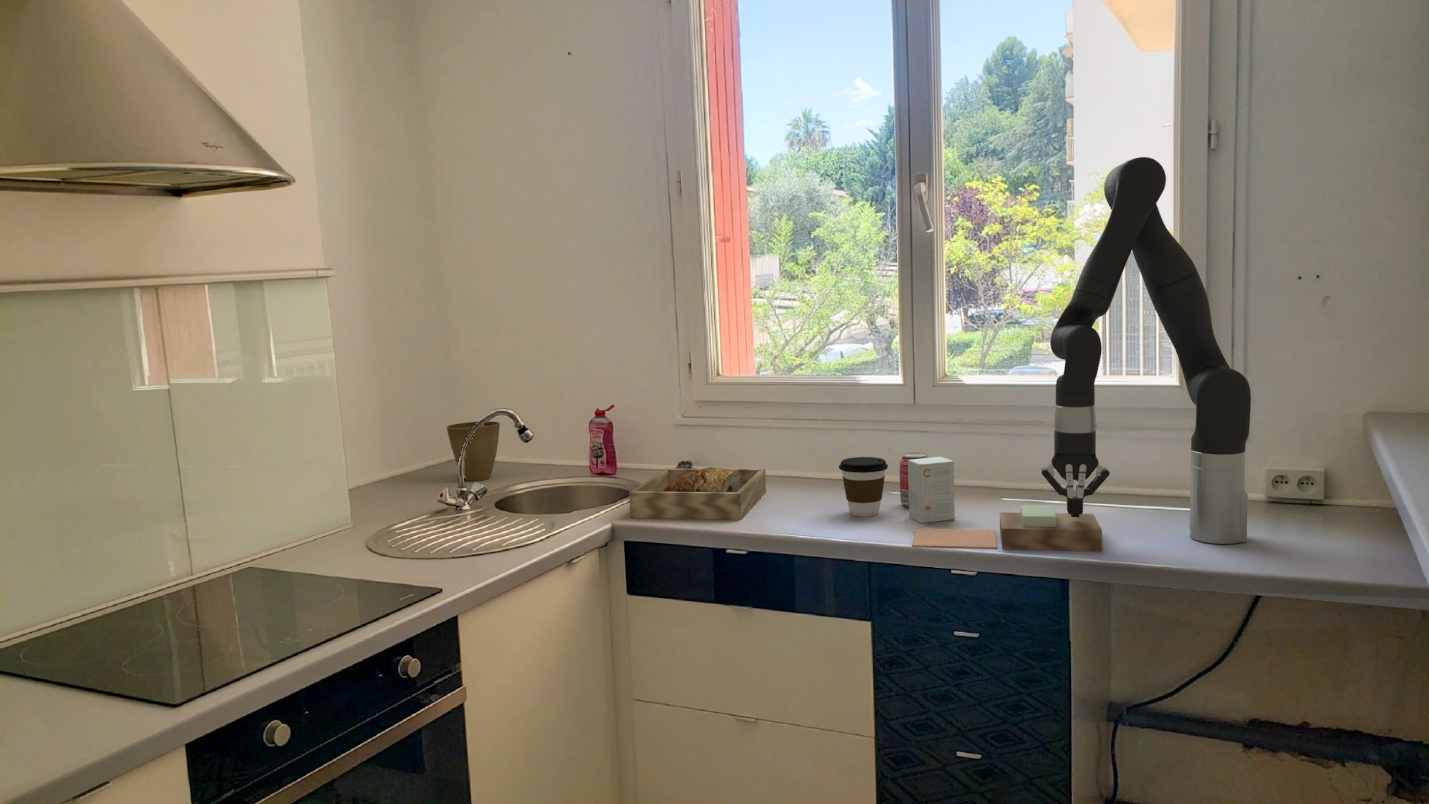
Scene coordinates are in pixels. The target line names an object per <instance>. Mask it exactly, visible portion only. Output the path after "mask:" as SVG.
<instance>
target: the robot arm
mask: <svg viewBox="0 0 1429 804" xmlns="http://www.w3.org/2000/svg"><path fill="white" fill-rule="evenodd" d="M1166 184H1167V175H1166V171H1165V169H1164V167H1163V166H1162V164H1161V163H1160V162H1159V161H1157V160H1156V159H1154V158H1152V157H1149V156H1148V157H1147V156H1140V157H1135V158H1130V159H1128V160H1126V161H1125V162H1123V163H1122V164H1119V165H1117V166H1116V167H1114V168H1113V169H1111V171H1109V173H1108V174H1107V176H1106V177H1105V179H1104V184H1103V193H1104V197H1105V200H1106V203H1107V204H1108V206H1109V209H1110V210H1111V211H1110V214H1109V217H1108V220H1107V222H1106V225H1105V226H1104V230H1103V231H1102V233H1101V235H1100V237H1099V239H1098V240H1097V243H1096V244H1095V246H1094V247H1093V249H1092V251H1091V252H1090V254H1089V255H1088V257H1087V259H1086V262H1085V263H1084V266H1083V267H1082V270H1081V272H1080V275H1079V278H1078V280H1077V283H1076V285H1075V288H1074V291H1073V292H1072V293H1073V294H1072V297H1071V299H1070V301H1069V302H1068V304H1067V305H1066V307H1065V309H1064V310H1063V311H1062V314H1061V315H1060V316H1059V318H1058V320H1057V321H1056V323H1055V325H1054V327H1053V330H1052V331H1051V336H1050V341H1049V344H1050V350H1051V352H1052V353H1053V355H1054V356H1055V357H1056V358H1058V359H1060V360H1063V361H1064V369H1063V374H1061V375H1058V377H1057V379H1056V382H1055V409H1054V416H1053V417H1054V419H1053V421H1054V423H1053V427H1054V428H1053V429H1054V431H1053V433H1054V436H1053V440H1054V442H1053V443H1054V445H1053V448H1054V449H1053V453H1054V454H1053V457H1052V458H1051V461H1050V464H1048V465H1047V466H1046V467H1042V468H1040V469H1041V470H1040V472H1041V475H1042V476H1043V478H1045V480H1046V481H1047V483H1049V485H1050V486H1051V487H1052V488H1053V489H1054V491H1055V492H1056V493H1057V494H1058V495H1059V496H1064V497H1065V498H1066V511H1067V513H1068V514H1070V515H1071V517H1079V514H1084V498H1085V497H1088V496H1093V494H1094V493H1095V492H1096V491H1097V490H1098V489H1099V488H1100V487H1101V485H1102V484H1103V483H1104V482H1105V481H1106V480H1107V478H1108V477H1109V476H1110V475H1111V472H1110V471H1109V470H1108V468H1107V467H1103V466H1102V465H1101V464H1100V463H1099V459H1098V458H1097V452H1096V451H1097V445H1096V444H1097V416H1096V408H1095V403H1096V402H1095V401H1096V400H1095V395H1096V391H1095V382H1096V379H1097V375H1098V372H1099V367H1100V364H1101V363H1100V362H1101V358H1102V352H1103V351H1102V349H1103V347H1102V340H1101V337H1100V334H1099V333H1098V331H1097V330H1096V329H1095V328H1094V327H1093V326H1094V324H1095V323H1096V321H1097V319H1099V318H1101V317H1102V316H1104V315H1106V314H1107V312H1108V311H1109V309H1110V308H1111V307H1110V306H1111V304H1112V303H1113V300H1114V296H1115V294H1116V291H1117V288H1118V285H1119V283H1120V280H1121V277H1122V275H1123V272H1124V270H1125V267H1126V265H1127V262H1128V260H1129V258H1130V255H1131V254H1133V258H1134V260H1135V263H1136V265H1137V268H1138V269H1139V273H1140V274H1141V277H1142V280H1143V283H1144V285H1145V288H1146V290H1147V294H1148V296H1149V298H1150V301H1151V303H1152V305H1153V307H1154V310H1155V311H1156V313H1157V314H1156V315H1157V316H1158V318H1159V321H1160V323H1161V324H1162V327H1163V329H1164V331H1165V332H1166V335H1167V337H1168V338H1169V340H1170V342H1171V344H1172V346H1173V348H1174V351H1175V353H1176V355H1177V357H1178V358H1177V359H1178V361H1179V364H1180V369H1181V371H1182V374H1183V378H1184V382H1185V386H1186V388H1187V393H1188V396H1189V398H1190V400H1191V401H1192V403H1193V405H1194V406H1195V408H1196V409H1195V412H1196V413H1195V427H1194V432H1193V434H1192V435H1191V439H1190V441H1191V442H1190V449H1191V450H1190V496H1189V497H1190V498H1189V500H1190V502H1189V503H1190V504H1189V505H1190V506H1189V508H1190V509H1189V537H1190V538H1191V539H1192V540H1196V541H1198V542H1202V543H1208V544H1209V543H1210V544H1216V545H1217V544H1218V545H1227V544H1228V545H1232V544H1238V543H1247V541H1248V540H1247V539H1248V507H1249V506H1248V504H1249V503H1248V502H1249V501H1248V500H1249V499H1248V497H1249V495H1248V492H1247V491H1245V489H1246V488H1245V485H1246V484H1245V483H1246V482H1245V480H1246V477H1245V475H1246V445H1247V440H1248V438H1249V434H1250V427H1251V426H1250V424H1251V423H1250V421H1251V409H1252V407H1251V405H1252V404H1251V403H1252V394H1251V393H1252V392H1251V391H1252V390H1251V386H1250V383H1249V381H1248V379H1247V378H1246V376H1245V375H1243V374H1242V373H1241V372H1240V371H1237V370H1236V369H1233V368H1231V367H1230V365H1229V364H1228V361H1227V360H1226V358H1225V356H1224V354H1223V352H1222V351H1221V348H1220V346H1219V344H1218V341H1217V340H1216V339H1217V338H1216V337H1215V333H1214V330H1213V324H1212V323H1213V322H1212V314H1211V308H1210V307H1211V306H1210V304H1209V303H1210V301H1209V297H1208V293H1207V291H1206V288H1205V286H1204V283H1203V281H1202V279H1201V277H1200V274H1199V272H1198V269H1197V267H1196V265H1195V264H1194V261H1193V260H1192V258H1191V257H1190V255H1189V254H1188V253H1187V251H1186V250H1185V249H1184V248H1183V246H1182V245H1181V244H1180V243H1179V242H1178V241H1177V240H1176V238H1175V237H1174V235H1173V234H1171V232H1170V231H1169V229H1168V228H1167V226H1166V225H1165V222H1164V220H1163V219H1162V218H1163V217H1162V215H1161V213H1160V210H1159V206H1158V204H1157V203H1158V201H1159V199H1160V198H1161V196H1162V194H1163V192H1164V190H1165V188H1166ZM1055 471H1056V472H1057V473H1058V475H1060V477H1061V478H1062V479H1063V480H1064V483H1065V484H1064V485H1065V487H1062V485H1061V484H1060V483H1059V481H1058V480H1057V479H1056V478H1055ZM1094 471H1095V472H1094ZM1093 472H1094V475H1095V477H1094V478H1093V479H1092V480H1091V481H1090V482H1089V484H1087V486H1086V487H1085V484H1086V483H1085V482H1086V480H1087V479H1088V478H1090V477H1091V476H1092V474H1093ZM1074 481H1075V486H1074ZM1074 487H1075V491H1074Z"/></svg>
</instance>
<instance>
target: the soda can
mask: <svg viewBox="0 0 1429 804" xmlns="http://www.w3.org/2000/svg"><path fill="white" fill-rule="evenodd" d="M922 458H929V457H928V453H926V452H919V451H918V452H914V451H913V452H911V451H910V452H905V453H902V457H901V459H900V460H899V498H900V503H901V504H902V505H903V506H904V507H906V508H909V484H908V460H912V459H922Z"/></svg>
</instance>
